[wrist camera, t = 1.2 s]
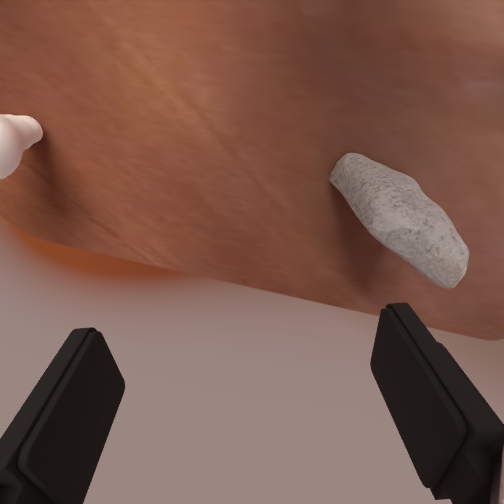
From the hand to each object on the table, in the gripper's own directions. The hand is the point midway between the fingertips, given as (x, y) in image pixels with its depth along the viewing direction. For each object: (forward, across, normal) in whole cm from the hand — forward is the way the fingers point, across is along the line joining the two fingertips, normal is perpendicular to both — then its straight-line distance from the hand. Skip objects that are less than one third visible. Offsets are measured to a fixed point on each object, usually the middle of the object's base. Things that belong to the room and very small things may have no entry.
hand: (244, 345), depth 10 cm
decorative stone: (+26, -15, +4) cm, 30 cm away
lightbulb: (+26, +21, -5) cm, 34 cm away
